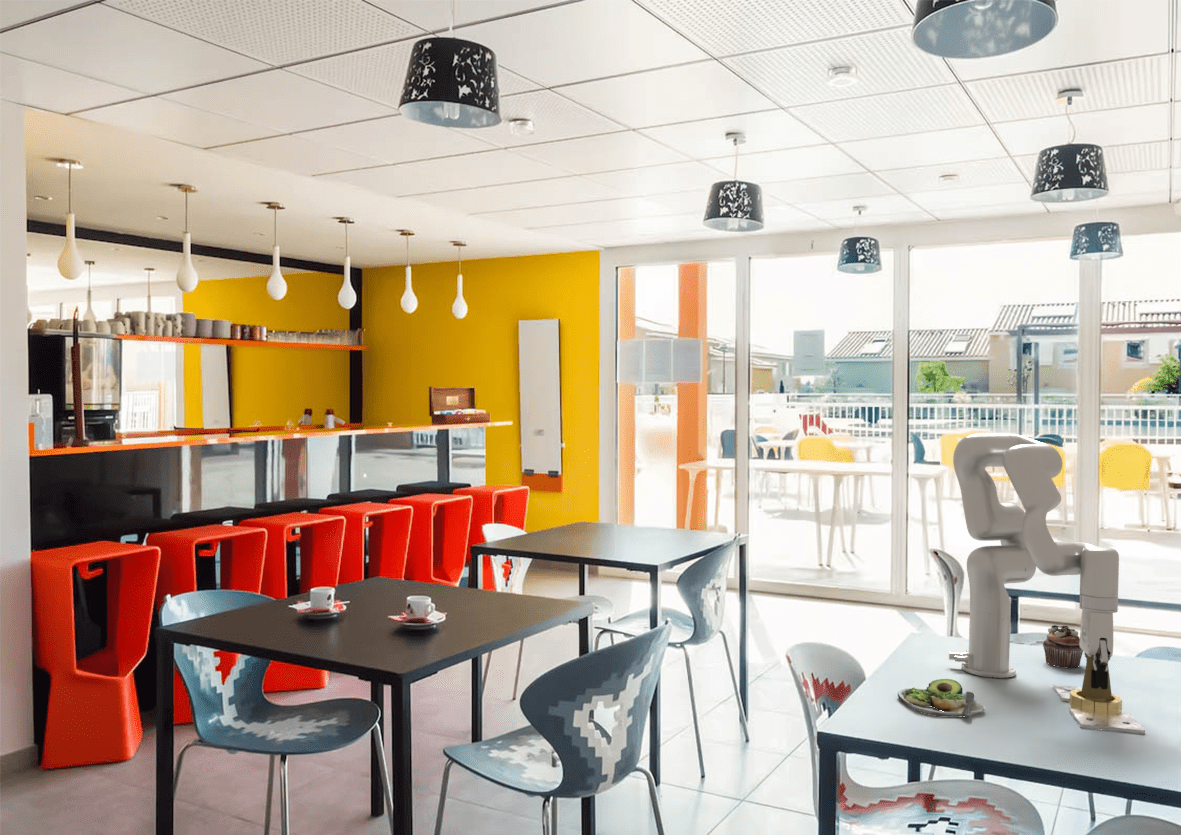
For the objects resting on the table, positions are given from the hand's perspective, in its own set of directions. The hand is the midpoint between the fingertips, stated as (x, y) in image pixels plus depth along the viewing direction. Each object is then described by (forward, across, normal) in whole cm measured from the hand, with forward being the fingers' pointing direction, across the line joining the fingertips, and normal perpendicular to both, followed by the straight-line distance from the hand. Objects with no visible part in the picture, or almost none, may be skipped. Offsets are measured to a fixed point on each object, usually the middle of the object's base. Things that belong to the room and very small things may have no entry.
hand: (1096, 684), depth 215 cm
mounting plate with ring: (+5, 0, 0) cm, 6 cm away
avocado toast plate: (+6, +8, -33) cm, 35 cm away
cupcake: (+6, -40, +1) cm, 40 cm away
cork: (+2, 0, 0) cm, 2 cm away
